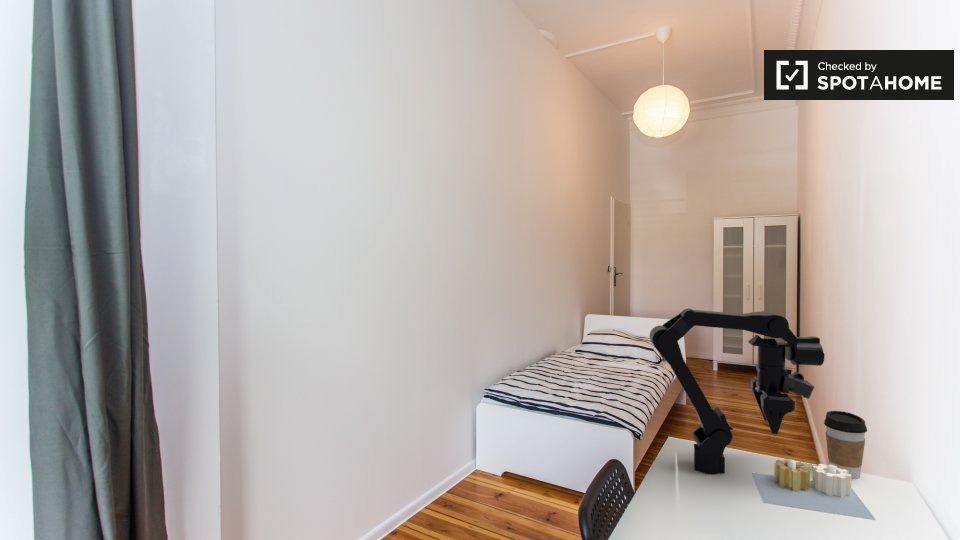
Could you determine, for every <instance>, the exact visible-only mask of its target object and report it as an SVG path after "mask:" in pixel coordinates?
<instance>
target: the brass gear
mask: <svg viewBox="0 0 960 540" xmlns="http://www.w3.org/2000/svg"><path fill="white" fill-rule="evenodd" d="M788 460H789V459H788V458H787V459H785V460H782V459H776V460H775V462H774V463H773V467H774V469H773V471H774V472H773V475H774V482H775V483H779V484H780V487H782V488H789V489H792V490H793V491H798V490H804V491H808V490H809V488H810V480H811V467H810V466H805V463H803V462H801V461H796V469H792V468H789V467H788Z"/></svg>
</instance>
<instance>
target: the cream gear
mask: <svg viewBox="0 0 960 540" xmlns="http://www.w3.org/2000/svg"><path fill="white" fill-rule="evenodd" d="M827 465H828V464H827ZM827 465H826V464H824V463H818V464H817V465H813V466H812V481H813V486H815V489H816V490H817V491H822V492H824V493H826V495H829V496H832V495H835V496H839V497H841V498H845V497H846V495H849V496H850V495H851V488H852V479H851V475H850V474H849V471H847V470H845V469H840V468H837V466H836V474H832V473H828V472H827Z"/></svg>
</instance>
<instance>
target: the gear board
mask: <svg viewBox="0 0 960 540" xmlns="http://www.w3.org/2000/svg"><path fill="white" fill-rule="evenodd" d="M796 462H797V461H796V460H794V459H788V467H789V468H792V469H796ZM827 472H828V473H832V474H836V466H834V465H830V464H829V463H828V464H827ZM751 475H752V477H753V479H754V482H755V485H756V487H757V490H758V492H759V495H760V498H761V500H762V503H763V504H768V505H769V504H770V505H776V506H781V507H789V508H795V509H802V510H807V511H813V512H820V513H827V514H833V515H840V516H847V517H852V518H853V517H854V518H858V519H860V518H861V519H865V520H872V521H876V518H875V516H874V515H873V514H872V513H871V511H870V510H869V509H868V507H867V506H866V505H865V504H864V502H863V501H862V500H861V498H860V497H859V495H858V494H856V492H855V490H853V488H852V487H851V495H850V496H849V495H846V497H845V498H841V497H839V496H835V495H832V496H829V495H826V493H824V492H822V491H817V490H816V489H815V486H813V480H811V479H810V488H809V490H808V491H804V490H798V491H793V490H792V489H789V488H782V487H780V484H779V483H775V482H774V474H773V475H772V474H765V473H758V472H751Z"/></svg>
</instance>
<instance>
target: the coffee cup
mask: <svg viewBox="0 0 960 540" xmlns="http://www.w3.org/2000/svg"><path fill="white" fill-rule="evenodd" d="M823 425H824V426H825V429H826V431H825V440H826V449H827V458H828V459H827V460H828V465H829V464H830V465H834V466H837V468H840V469H845V470H847V471H849V474H850V475H851V480H859V479H860V478H861V473H862V465H863V459H864V458H863V457H864V452H865V445H866V438H865V436H866V435H865V434H866V433H867V432H868V429H867V428H868V427H867V426H866V425H867V424H866V421H865V419H864V418H862V417H860V416H858V415H856V414H854V413H852V412H846V411H840V410H830V411H827V412H826V415H825V419H824V422H823Z"/></svg>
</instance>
